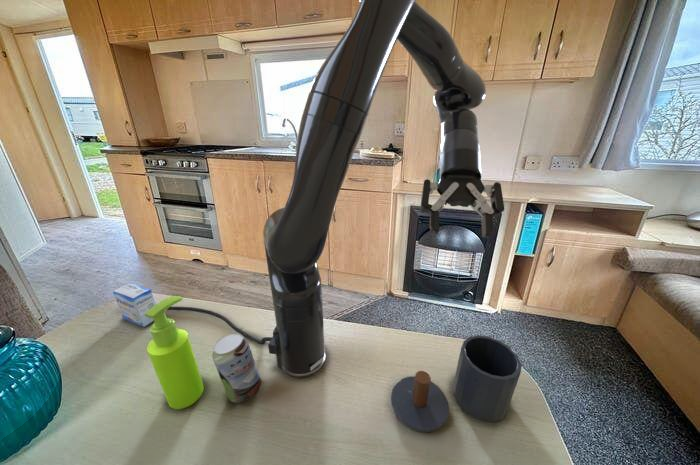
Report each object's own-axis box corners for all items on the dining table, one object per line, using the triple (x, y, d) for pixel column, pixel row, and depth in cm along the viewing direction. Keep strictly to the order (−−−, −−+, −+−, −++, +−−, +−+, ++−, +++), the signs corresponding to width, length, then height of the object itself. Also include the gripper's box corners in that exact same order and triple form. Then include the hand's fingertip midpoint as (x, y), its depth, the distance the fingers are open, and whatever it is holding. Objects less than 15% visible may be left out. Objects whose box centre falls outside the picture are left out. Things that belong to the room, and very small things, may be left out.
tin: (457, 417, 48) (467, 374, 44) (449, 372, 56) (457, 332, 52) (514, 426, 47) (530, 383, 42) (497, 379, 55) (510, 339, 51)
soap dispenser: (214, 380, 55) (191, 297, 46) (185, 413, 49) (152, 325, 40) (191, 372, 56) (165, 290, 48) (160, 403, 50) (124, 316, 42)
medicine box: (123, 319, 70) (111, 291, 67) (140, 308, 74) (130, 281, 71) (143, 327, 68) (132, 299, 64) (161, 316, 72) (151, 288, 68)
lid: (389, 428, 46) (392, 399, 44) (392, 376, 55) (394, 349, 52) (451, 440, 45) (458, 410, 42) (443, 385, 54) (449, 357, 51)
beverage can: (251, 410, 49) (241, 361, 44) (215, 402, 50) (200, 353, 46) (268, 379, 55) (260, 332, 50) (234, 373, 56) (224, 327, 51)
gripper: (425, 145, 53) (422, 223, 47) (505, 147, 50) (512, 229, 45) (420, 168, 59) (417, 239, 54) (491, 170, 57) (495, 244, 51)
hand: (460, 234), depth 49 cm, fingers open, 8 cm apart
